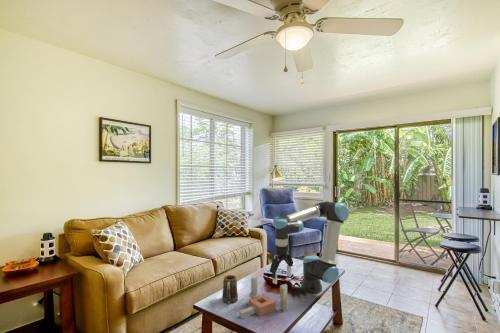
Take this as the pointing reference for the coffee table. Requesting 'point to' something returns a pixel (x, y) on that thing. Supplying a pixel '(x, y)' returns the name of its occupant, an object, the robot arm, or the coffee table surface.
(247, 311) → the square hole peg fixture
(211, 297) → the coffee table surface
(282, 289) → the wedge pin
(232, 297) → the mug
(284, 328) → the coffee table surface
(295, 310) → the coffee table surface
